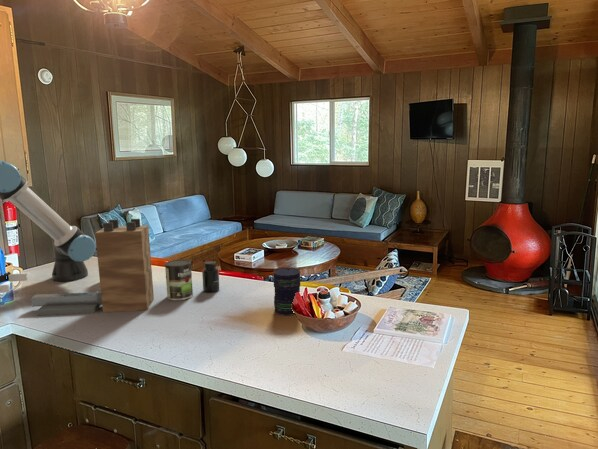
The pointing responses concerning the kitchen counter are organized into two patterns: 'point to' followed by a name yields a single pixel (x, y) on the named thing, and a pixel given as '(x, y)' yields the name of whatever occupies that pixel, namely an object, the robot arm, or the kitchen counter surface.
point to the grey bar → (67, 299)
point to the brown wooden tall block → (124, 266)
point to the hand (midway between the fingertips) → (18, 282)
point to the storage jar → (285, 289)
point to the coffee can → (179, 279)
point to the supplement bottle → (210, 277)
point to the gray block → (67, 309)
